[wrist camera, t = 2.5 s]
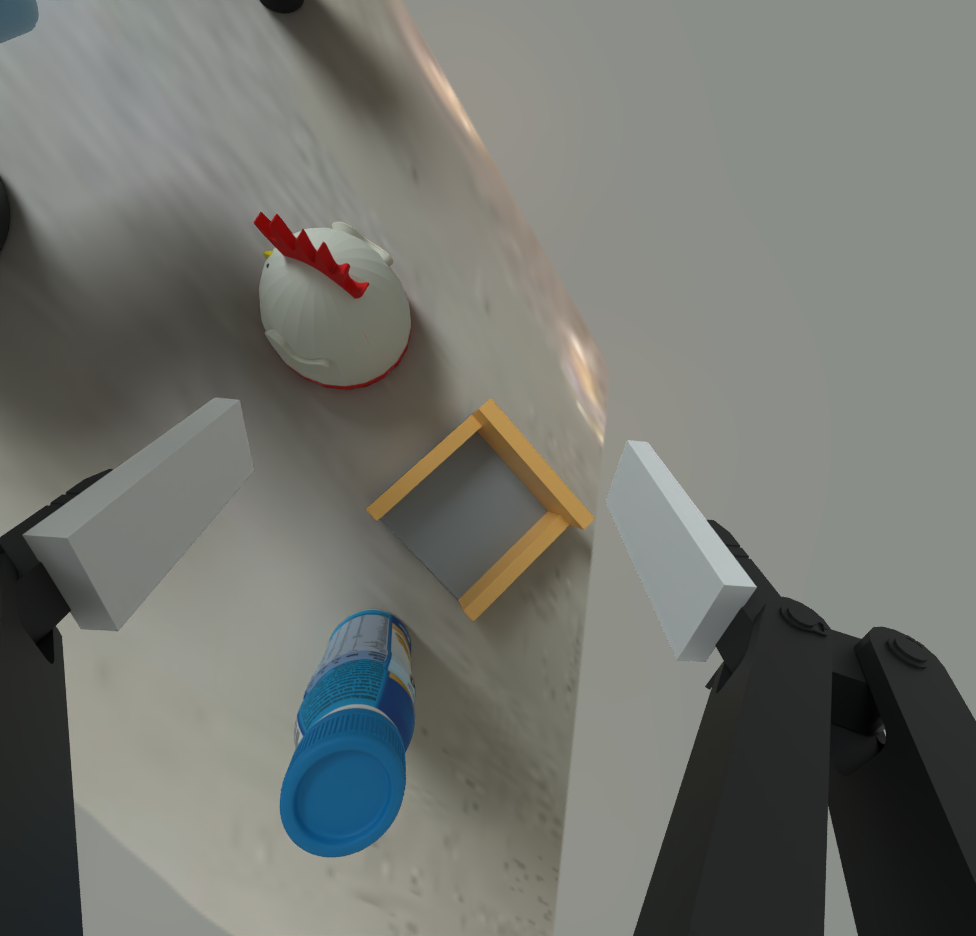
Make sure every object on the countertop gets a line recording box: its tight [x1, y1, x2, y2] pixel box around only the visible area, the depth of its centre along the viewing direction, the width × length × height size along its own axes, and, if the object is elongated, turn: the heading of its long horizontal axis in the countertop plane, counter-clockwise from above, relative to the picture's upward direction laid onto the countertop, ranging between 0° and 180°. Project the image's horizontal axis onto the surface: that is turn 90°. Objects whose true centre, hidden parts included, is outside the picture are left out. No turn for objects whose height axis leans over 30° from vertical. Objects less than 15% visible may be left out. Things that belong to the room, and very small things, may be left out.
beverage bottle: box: [280, 609, 416, 857], centre depth 32 cm, size 8×8×20 cm
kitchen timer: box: [254, 212, 411, 390], centre depth 35 cm, size 14×14×15 cm
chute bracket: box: [366, 398, 595, 622], centre depth 40 cm, size 15×15×8 cm
